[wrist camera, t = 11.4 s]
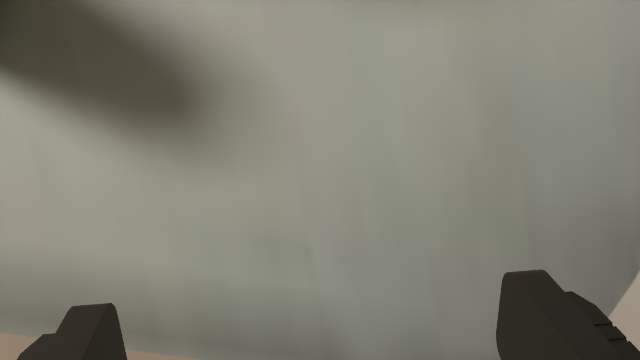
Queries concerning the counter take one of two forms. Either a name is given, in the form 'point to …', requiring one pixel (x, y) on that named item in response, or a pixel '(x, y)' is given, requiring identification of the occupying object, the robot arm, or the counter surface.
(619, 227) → the counter surface
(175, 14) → the counter surface
